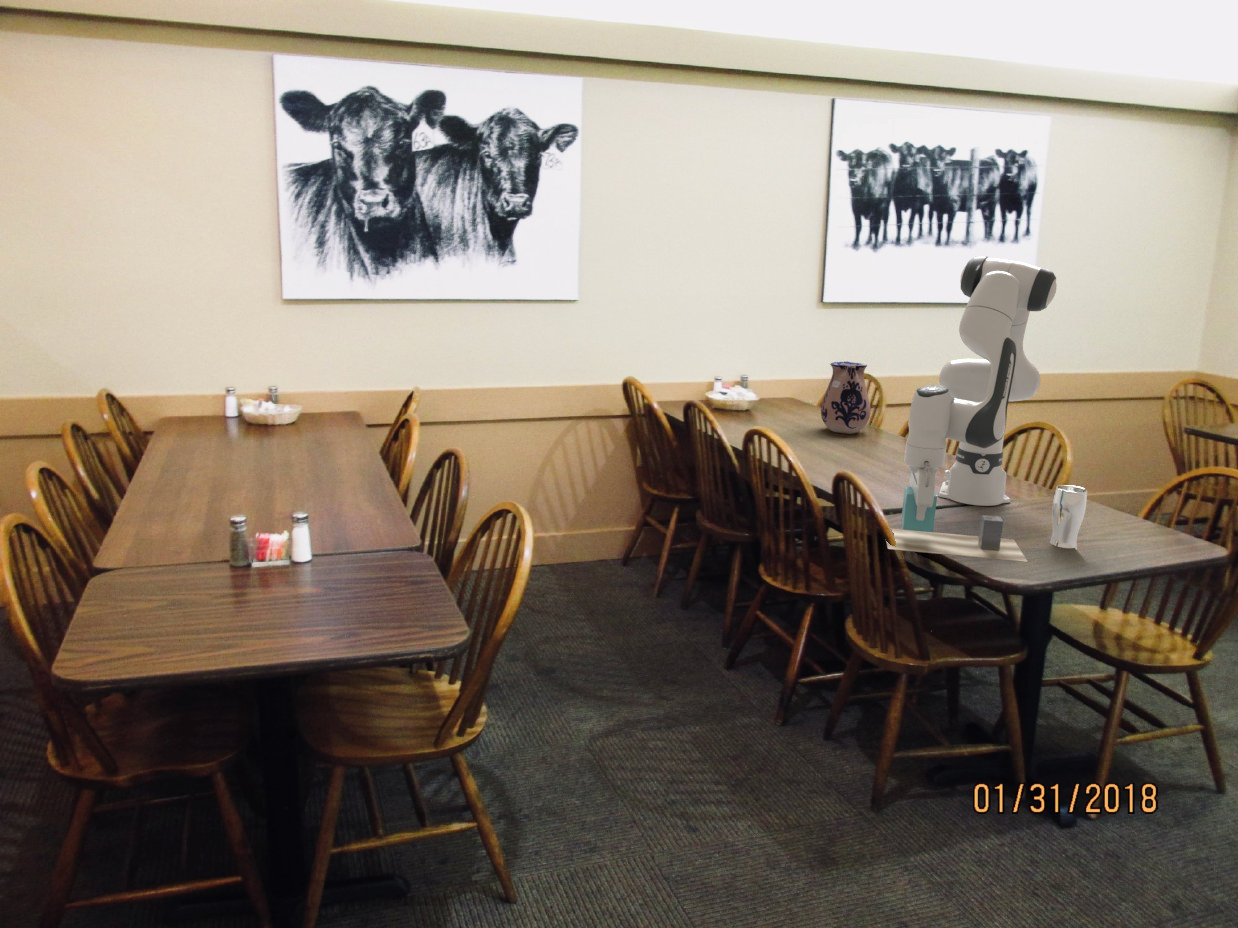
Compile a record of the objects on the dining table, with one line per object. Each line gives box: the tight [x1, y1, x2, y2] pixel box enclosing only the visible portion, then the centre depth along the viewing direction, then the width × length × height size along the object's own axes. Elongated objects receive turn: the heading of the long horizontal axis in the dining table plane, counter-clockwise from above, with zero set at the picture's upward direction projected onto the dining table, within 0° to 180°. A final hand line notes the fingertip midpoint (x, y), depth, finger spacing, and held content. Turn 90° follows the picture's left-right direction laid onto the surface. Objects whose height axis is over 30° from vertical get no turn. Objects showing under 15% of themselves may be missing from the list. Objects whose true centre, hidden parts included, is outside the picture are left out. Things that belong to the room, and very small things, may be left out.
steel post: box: [978, 514, 1004, 551], centre depth 219 cm, size 4×4×7 cm
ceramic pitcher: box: [820, 360, 871, 435], centre depth 348 cm, size 18×21×25 cm
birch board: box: [885, 528, 1029, 563], centre depth 221 cm, size 16×30×2 cm, turn 78°
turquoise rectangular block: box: [900, 485, 938, 532], centre depth 221 cm, size 7×7×9 cm
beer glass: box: [1049, 484, 1088, 551], centre depth 222 cm, size 7×7×15 cm
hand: (918, 514), depth 221 cm, fingers closed on turquoise rectangular block, 7 cm apart
